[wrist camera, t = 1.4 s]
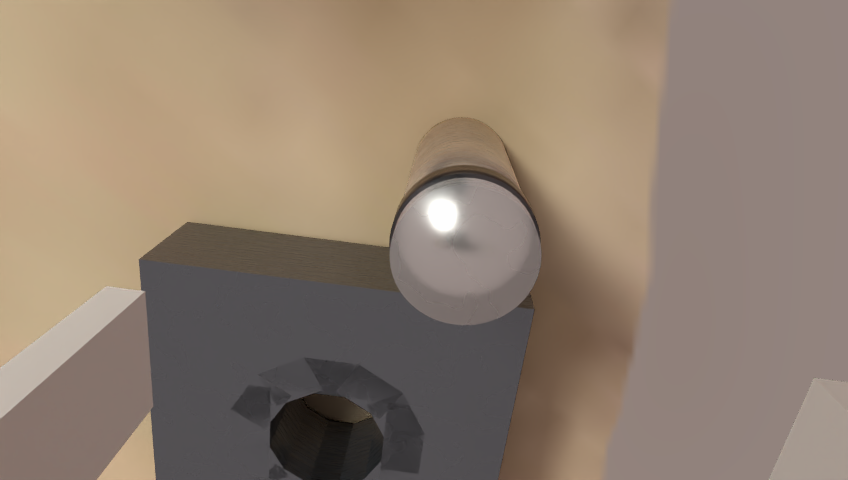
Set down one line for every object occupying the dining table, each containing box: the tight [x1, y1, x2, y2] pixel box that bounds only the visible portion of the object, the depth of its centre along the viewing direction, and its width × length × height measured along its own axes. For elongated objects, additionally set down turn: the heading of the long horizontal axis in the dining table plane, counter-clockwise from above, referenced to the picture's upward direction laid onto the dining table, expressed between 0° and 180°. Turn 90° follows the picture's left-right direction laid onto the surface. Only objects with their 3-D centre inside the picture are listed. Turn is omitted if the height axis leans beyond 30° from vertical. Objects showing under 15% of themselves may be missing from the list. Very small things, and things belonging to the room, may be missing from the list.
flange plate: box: [139, 222, 534, 480], centre depth 31 cm, size 18×18×5 cm
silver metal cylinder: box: [389, 117, 541, 325], centre depth 23 cm, size 5×5×12 cm
